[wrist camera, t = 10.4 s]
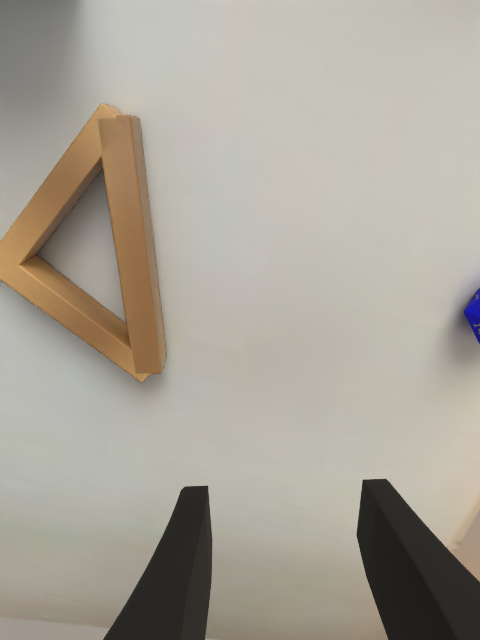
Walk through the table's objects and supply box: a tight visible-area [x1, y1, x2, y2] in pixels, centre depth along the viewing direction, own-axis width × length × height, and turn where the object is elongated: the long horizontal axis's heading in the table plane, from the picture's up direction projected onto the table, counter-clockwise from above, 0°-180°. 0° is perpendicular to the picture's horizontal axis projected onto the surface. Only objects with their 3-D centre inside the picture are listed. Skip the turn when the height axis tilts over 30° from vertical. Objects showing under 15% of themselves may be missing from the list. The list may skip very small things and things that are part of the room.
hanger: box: [0, 103, 167, 382], centre depth 17 cm, size 8×11×2 cm
